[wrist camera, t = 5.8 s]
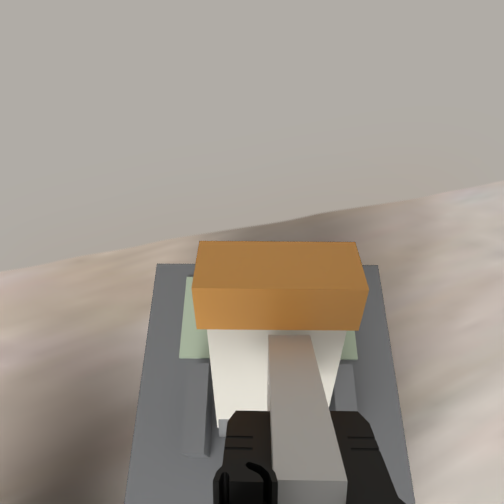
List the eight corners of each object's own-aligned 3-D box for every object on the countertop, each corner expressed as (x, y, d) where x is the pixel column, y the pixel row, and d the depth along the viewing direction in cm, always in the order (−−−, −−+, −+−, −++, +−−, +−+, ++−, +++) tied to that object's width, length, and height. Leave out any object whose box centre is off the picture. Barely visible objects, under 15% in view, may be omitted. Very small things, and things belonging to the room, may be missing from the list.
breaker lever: (211, 446, 20) (191, 288, 13) (215, 400, 22) (199, 240, 15) (328, 447, 20) (369, 289, 13) (322, 401, 22) (355, 242, 15)
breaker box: (160, 581, 28) (79, 670, 15) (184, 326, 37) (146, 239, 24) (367, 584, 28) (470, 675, 15) (342, 327, 37) (391, 241, 23)
